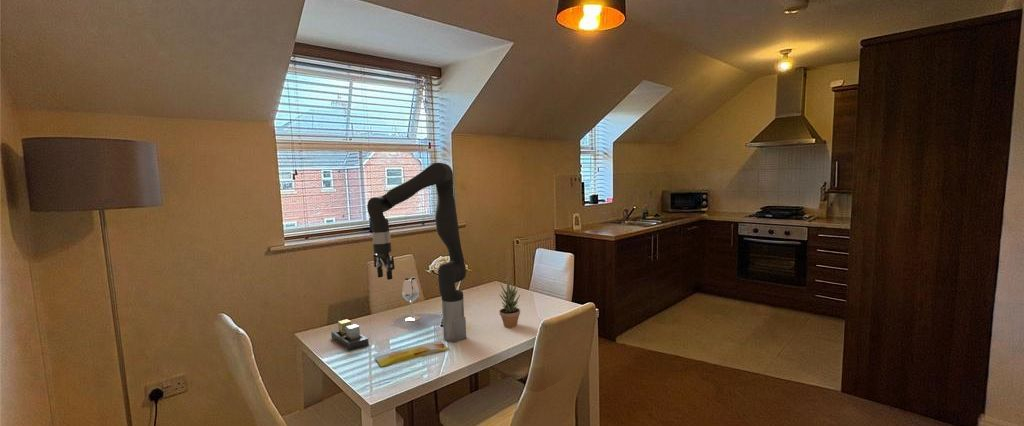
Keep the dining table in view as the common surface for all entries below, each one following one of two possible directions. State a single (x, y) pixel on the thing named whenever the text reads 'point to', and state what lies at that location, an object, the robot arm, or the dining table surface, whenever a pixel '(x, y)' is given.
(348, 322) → the tan rectangular block
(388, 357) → the food package
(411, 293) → the wineglass
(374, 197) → the robot arm
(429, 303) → the dining table surface
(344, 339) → the dark grey tray
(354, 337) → the light grey block
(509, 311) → the potted plant
